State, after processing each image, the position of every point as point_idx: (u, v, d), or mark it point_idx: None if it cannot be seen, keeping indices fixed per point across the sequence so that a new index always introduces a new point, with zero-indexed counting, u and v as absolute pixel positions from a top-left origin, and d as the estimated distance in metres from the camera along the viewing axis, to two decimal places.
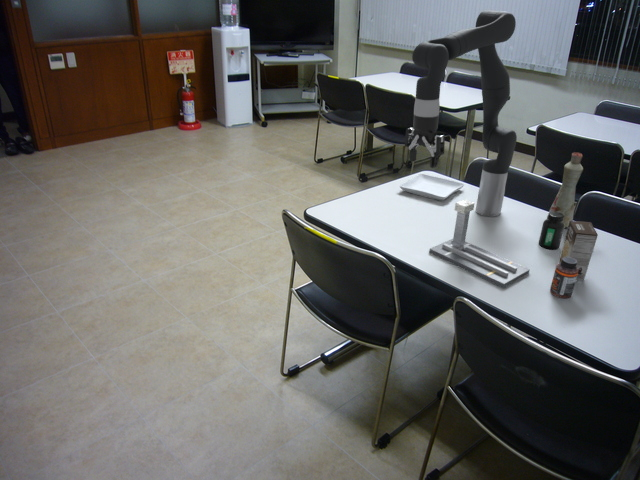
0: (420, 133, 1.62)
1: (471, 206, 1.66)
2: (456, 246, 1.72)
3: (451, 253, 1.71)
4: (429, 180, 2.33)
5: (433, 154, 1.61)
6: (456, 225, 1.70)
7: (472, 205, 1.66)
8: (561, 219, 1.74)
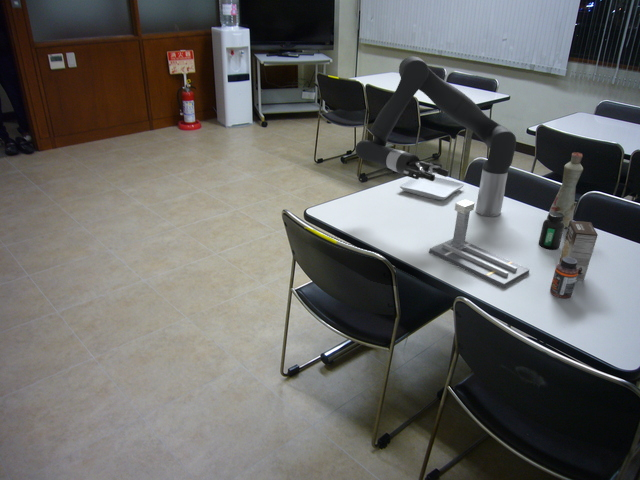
0: None
1: (471, 206, 1.66)
2: (456, 246, 1.72)
3: (451, 253, 1.71)
4: (429, 180, 2.33)
5: (421, 178, 1.72)
6: (456, 225, 1.70)
7: (472, 205, 1.66)
8: (561, 219, 1.74)
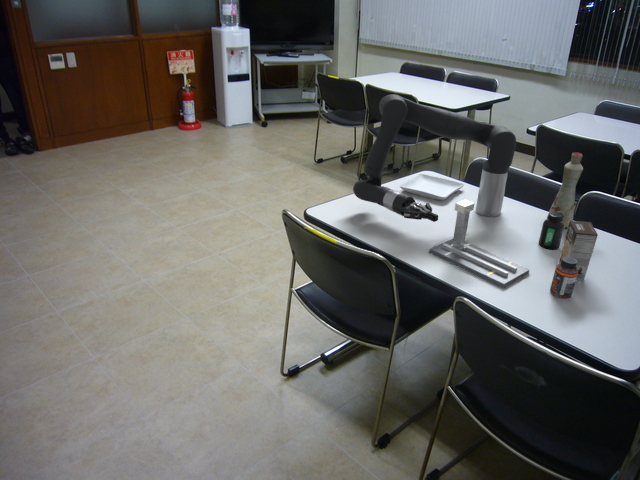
0: None
1: (471, 206, 1.66)
2: (456, 246, 1.72)
3: (451, 253, 1.71)
4: (429, 180, 2.33)
5: None
6: (456, 225, 1.70)
7: (472, 205, 1.66)
8: (561, 219, 1.74)
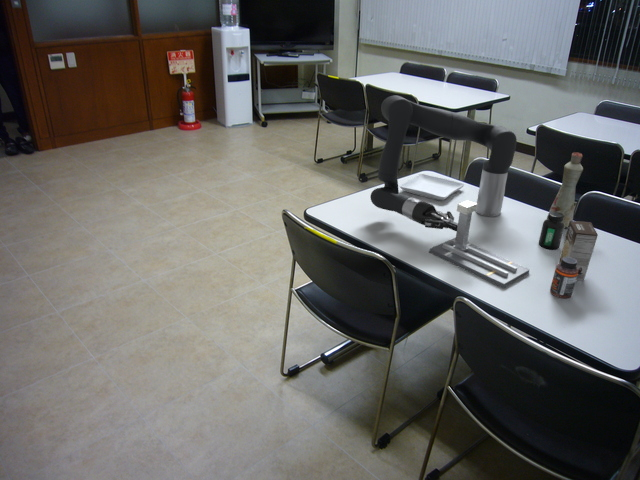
0: None
1: (474, 207, 1.65)
2: (458, 247, 1.71)
3: (451, 253, 1.71)
4: (429, 180, 2.33)
5: None
6: (458, 226, 1.69)
7: (474, 206, 1.65)
8: (561, 219, 1.74)
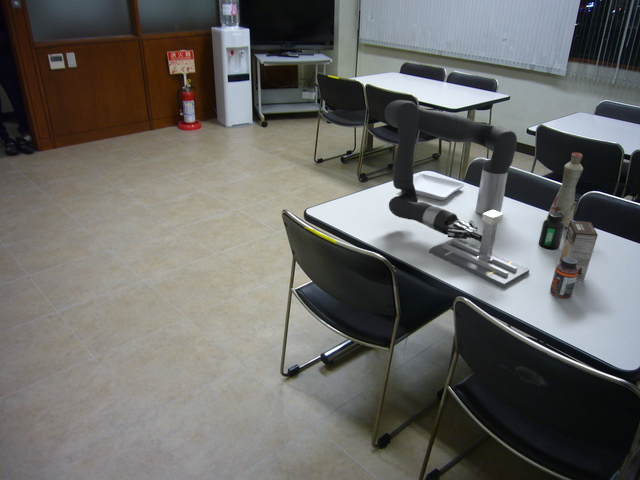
0: None
1: (500, 217, 1.59)
2: (482, 258, 1.65)
3: (451, 253, 1.71)
4: (429, 180, 2.33)
5: None
6: (483, 236, 1.63)
7: (500, 216, 1.59)
8: (561, 219, 1.74)
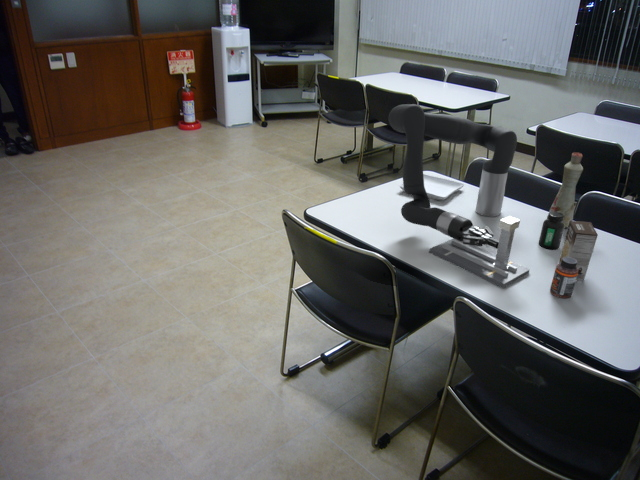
0: None
1: (517, 224, 1.55)
2: (499, 265, 1.61)
3: (451, 253, 1.71)
4: (429, 180, 2.33)
5: (484, 244, 1.63)
6: (499, 243, 1.59)
7: (518, 222, 1.55)
8: (561, 219, 1.74)
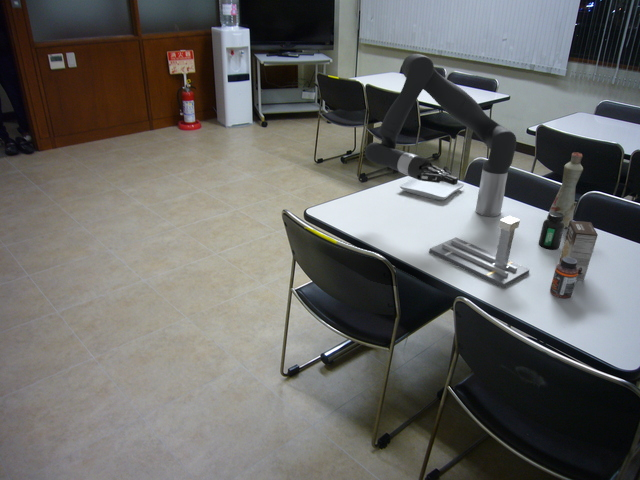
0: None
1: (517, 224, 1.55)
2: (499, 265, 1.61)
3: (451, 253, 1.71)
4: None
5: (442, 181, 1.70)
6: (499, 243, 1.59)
7: (517, 222, 1.55)
8: (561, 219, 1.74)
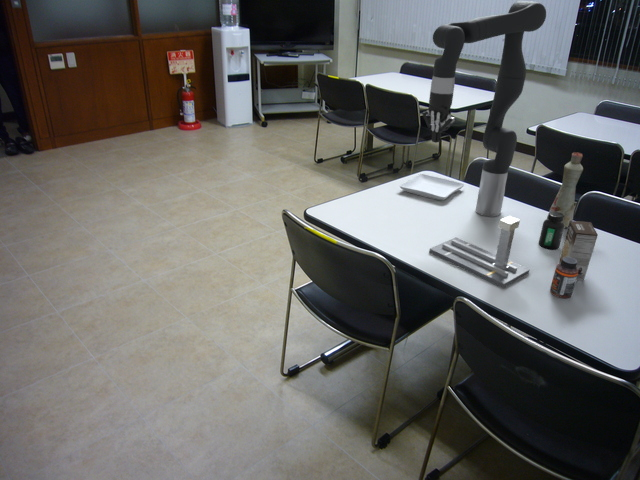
0: (435, 109, 1.76)
1: (517, 224, 1.55)
2: (499, 265, 1.61)
3: (451, 253, 1.71)
4: (429, 180, 2.33)
5: (437, 130, 1.77)
6: (499, 243, 1.59)
7: (517, 222, 1.55)
8: (561, 219, 1.74)
